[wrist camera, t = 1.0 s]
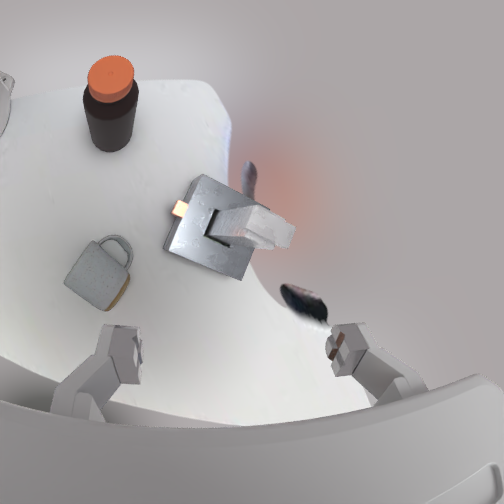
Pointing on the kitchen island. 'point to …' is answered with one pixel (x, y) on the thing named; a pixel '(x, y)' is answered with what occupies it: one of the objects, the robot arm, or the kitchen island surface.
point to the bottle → (111, 102)
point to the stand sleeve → (196, 221)
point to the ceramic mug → (100, 275)
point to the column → (250, 228)
